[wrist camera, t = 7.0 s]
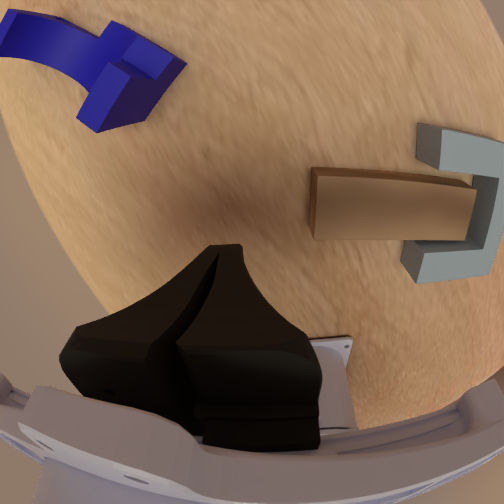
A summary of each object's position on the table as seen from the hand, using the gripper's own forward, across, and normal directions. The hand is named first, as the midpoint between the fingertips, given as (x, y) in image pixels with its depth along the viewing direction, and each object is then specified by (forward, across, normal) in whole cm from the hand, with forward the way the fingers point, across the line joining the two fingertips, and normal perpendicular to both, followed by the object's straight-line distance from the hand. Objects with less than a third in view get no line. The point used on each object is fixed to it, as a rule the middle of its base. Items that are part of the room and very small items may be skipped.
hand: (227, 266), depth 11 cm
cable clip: (+8, +8, -12) cm, 16 cm away
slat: (+8, -10, 0) cm, 13 cm away
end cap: (+8, -16, 0) cm, 18 cm away
